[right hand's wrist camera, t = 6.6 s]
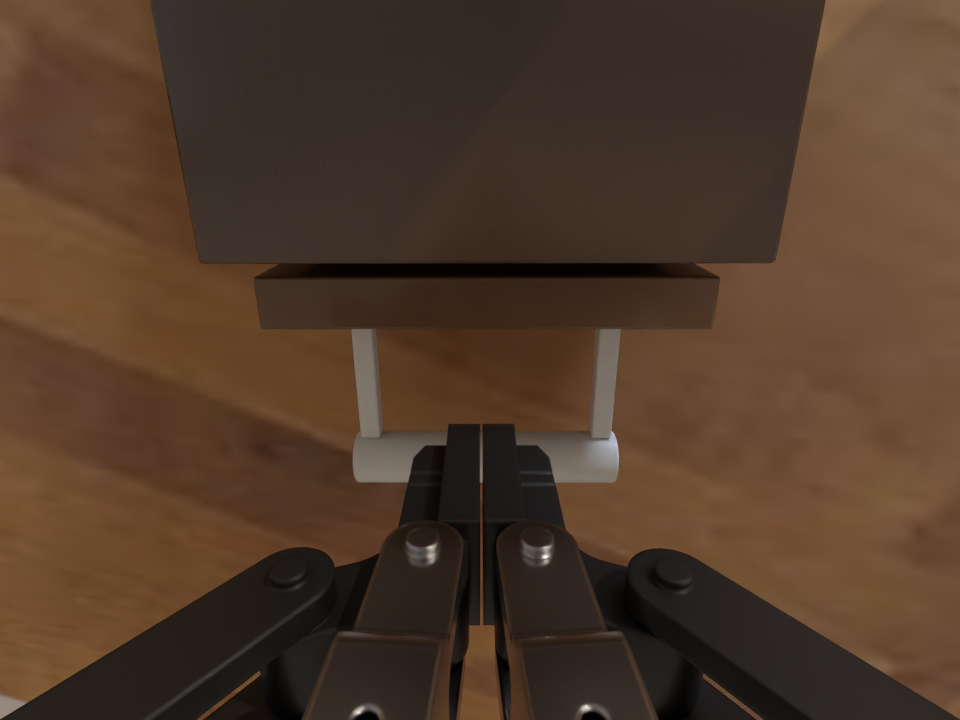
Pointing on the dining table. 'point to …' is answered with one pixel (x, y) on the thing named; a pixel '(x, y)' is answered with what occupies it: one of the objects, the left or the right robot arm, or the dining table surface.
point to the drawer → (487, 305)
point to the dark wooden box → (487, 128)
